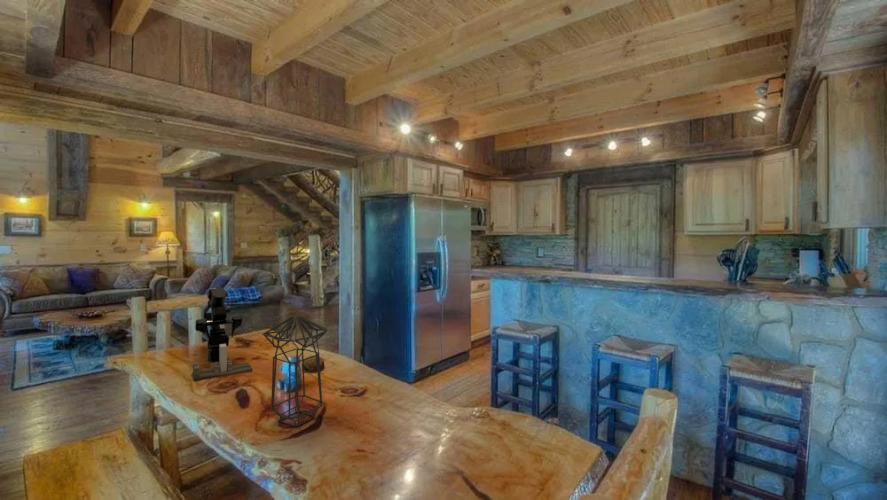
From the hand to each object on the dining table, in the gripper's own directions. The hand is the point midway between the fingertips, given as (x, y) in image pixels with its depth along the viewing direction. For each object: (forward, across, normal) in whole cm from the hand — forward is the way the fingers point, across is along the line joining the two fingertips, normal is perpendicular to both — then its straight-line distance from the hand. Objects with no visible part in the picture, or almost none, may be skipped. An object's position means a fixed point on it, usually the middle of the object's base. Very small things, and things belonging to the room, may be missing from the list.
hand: (220, 338), depth 177 cm
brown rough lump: (+27, +34, -7) cm, 44 cm away
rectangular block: (+14, 0, +4) cm, 14 cm away
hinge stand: (+15, 0, +5) cm, 15 cm away
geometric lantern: (+60, +14, -41) cm, 74 cm away
